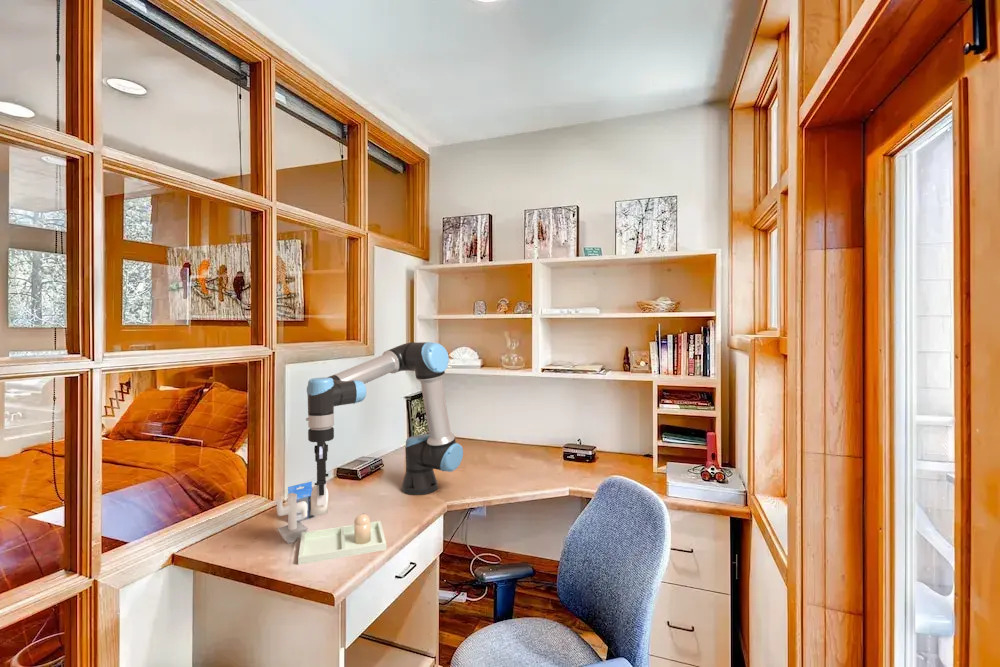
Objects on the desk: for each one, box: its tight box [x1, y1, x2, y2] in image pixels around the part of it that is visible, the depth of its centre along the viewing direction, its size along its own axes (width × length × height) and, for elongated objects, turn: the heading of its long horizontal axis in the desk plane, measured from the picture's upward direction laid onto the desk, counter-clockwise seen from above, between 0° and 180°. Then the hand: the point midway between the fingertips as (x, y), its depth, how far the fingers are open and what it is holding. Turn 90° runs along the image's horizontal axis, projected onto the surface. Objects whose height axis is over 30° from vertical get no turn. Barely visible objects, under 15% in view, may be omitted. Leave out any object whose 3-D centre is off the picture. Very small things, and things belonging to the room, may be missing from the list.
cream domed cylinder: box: [311, 485, 329, 517], centre depth 144 cm, size 5×5×8 cm
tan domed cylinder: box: [353, 513, 371, 544], centre depth 148 cm, size 5×5×8 cm
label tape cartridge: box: [287, 481, 317, 522], centre depth 169 cm, size 9×4×12 cm, turn 135°
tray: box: [297, 520, 387, 566], centre depth 146 cm, size 25×18×3 cm
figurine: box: [276, 493, 308, 544], centre depth 152 cm, size 7×9×15 cm
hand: (321, 501), depth 144 cm, fingers closed on cream domed cylinder, 5 cm apart
